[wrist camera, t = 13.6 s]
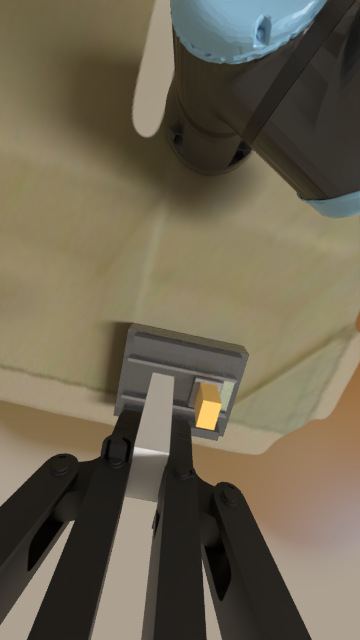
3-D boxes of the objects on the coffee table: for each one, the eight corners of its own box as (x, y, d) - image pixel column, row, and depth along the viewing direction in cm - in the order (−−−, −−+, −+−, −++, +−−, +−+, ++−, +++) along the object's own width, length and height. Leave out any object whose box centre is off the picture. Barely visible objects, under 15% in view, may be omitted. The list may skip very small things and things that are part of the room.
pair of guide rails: (136, 332, 42) (134, 335, 40) (240, 354, 43) (243, 358, 41) (121, 415, 47) (119, 421, 45) (216, 433, 47) (217, 440, 46)
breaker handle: (195, 375, 44) (197, 396, 37) (222, 380, 44) (228, 402, 38) (188, 403, 45) (189, 428, 39) (213, 408, 46) (219, 433, 39)
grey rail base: (132, 322, 46) (127, 330, 41) (243, 346, 47) (250, 356, 42) (118, 403, 50) (112, 418, 46) (219, 422, 51) (223, 440, 47)
